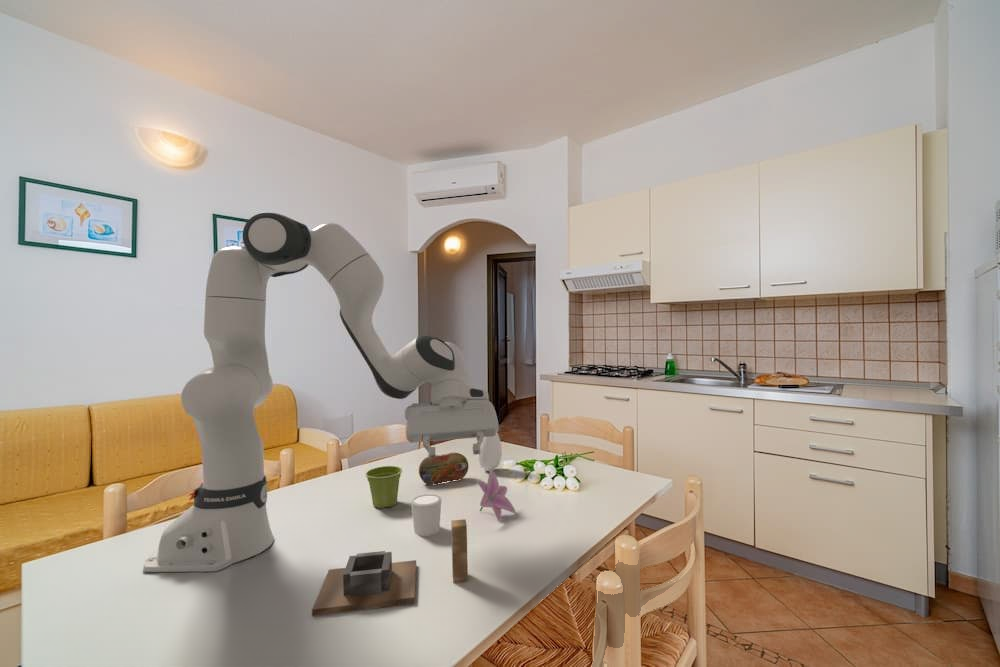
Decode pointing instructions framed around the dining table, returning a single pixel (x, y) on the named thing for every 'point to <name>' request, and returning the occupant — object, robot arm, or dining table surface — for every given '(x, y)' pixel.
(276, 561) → the dining table surface
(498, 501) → the lily
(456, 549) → the wooden stick
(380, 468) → the plant pot
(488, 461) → the sauce bottle
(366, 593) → the socket board
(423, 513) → the white cup
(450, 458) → the tin
